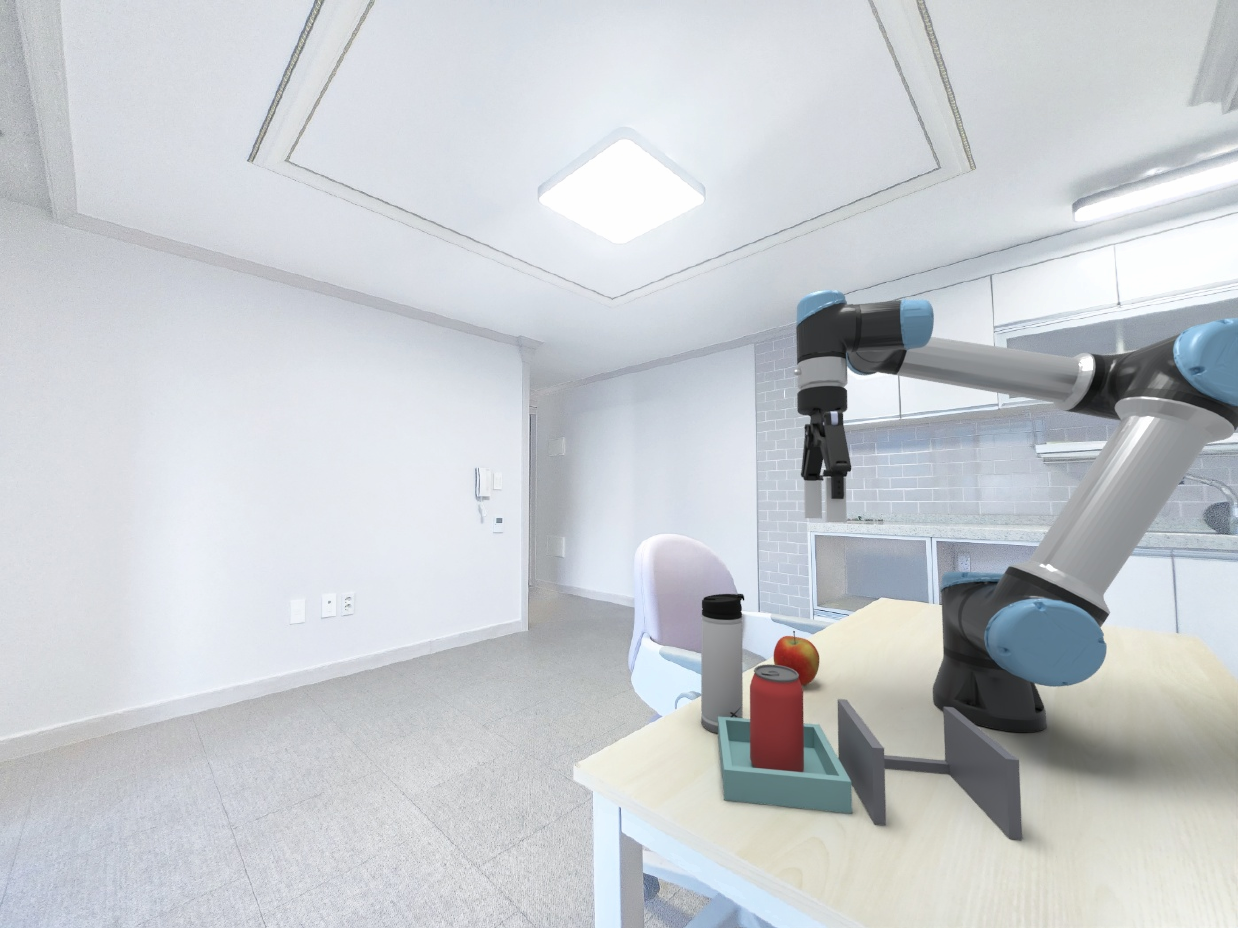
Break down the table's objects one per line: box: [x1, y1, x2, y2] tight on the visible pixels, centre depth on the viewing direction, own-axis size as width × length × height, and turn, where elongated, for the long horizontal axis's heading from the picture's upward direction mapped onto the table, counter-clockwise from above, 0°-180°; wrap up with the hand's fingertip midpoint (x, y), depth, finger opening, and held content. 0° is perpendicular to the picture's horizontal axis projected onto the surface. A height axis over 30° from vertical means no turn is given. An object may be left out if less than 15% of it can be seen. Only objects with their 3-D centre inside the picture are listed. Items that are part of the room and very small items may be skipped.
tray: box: [717, 716, 853, 814], centre depth 62 cm, size 14×14×3 cm
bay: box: [837, 698, 1023, 841], centre depth 58 cm, size 14×13×8 cm
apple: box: [773, 630, 820, 687], centre depth 93 cm, size 8×8×10 cm
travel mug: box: [700, 593, 745, 734], centre depth 76 cm, size 6×7×20 cm
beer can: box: [749, 664, 804, 772], centre depth 63 cm, size 7×7×12 cm
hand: (823, 520), depth 78 cm, fingers open, 13 cm apart
